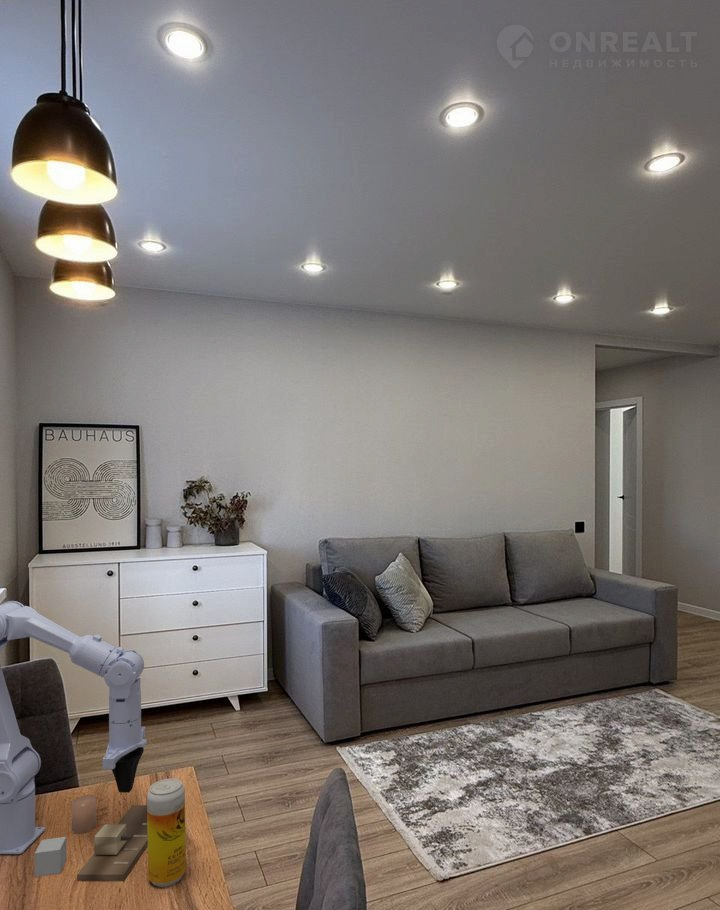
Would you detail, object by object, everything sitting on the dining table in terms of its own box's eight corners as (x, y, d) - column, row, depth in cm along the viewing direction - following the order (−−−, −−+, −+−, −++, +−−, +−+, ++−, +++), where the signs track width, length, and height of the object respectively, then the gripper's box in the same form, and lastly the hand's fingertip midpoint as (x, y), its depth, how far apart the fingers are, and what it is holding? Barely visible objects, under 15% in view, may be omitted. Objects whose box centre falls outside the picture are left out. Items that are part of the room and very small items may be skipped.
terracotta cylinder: (67, 833, 116) (66, 807, 116) (78, 821, 121) (78, 795, 121) (89, 833, 116) (89, 806, 116) (100, 821, 120) (100, 795, 121)
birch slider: (94, 854, 107) (94, 837, 107) (104, 841, 111) (104, 824, 111) (126, 854, 107) (125, 836, 107) (135, 841, 111) (135, 824, 111)
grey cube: (34, 877, 103) (34, 853, 104) (42, 863, 107) (41, 839, 108) (60, 873, 104) (59, 849, 104) (66, 859, 108) (66, 836, 108)
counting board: (77, 880, 102) (77, 873, 102) (132, 810, 124) (132, 804, 124) (123, 880, 102) (123, 874, 102) (170, 810, 124) (170, 804, 124)
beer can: (174, 890, 99) (173, 796, 100) (140, 886, 100) (139, 793, 101) (192, 867, 105) (190, 778, 105) (160, 864, 106) (158, 776, 107)
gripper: (129, 733, 109) (129, 811, 108) (159, 704, 123) (160, 772, 123) (91, 733, 109) (91, 811, 109) (125, 704, 124) (126, 772, 123)
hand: (125, 790), depth 116 cm, fingers closed
